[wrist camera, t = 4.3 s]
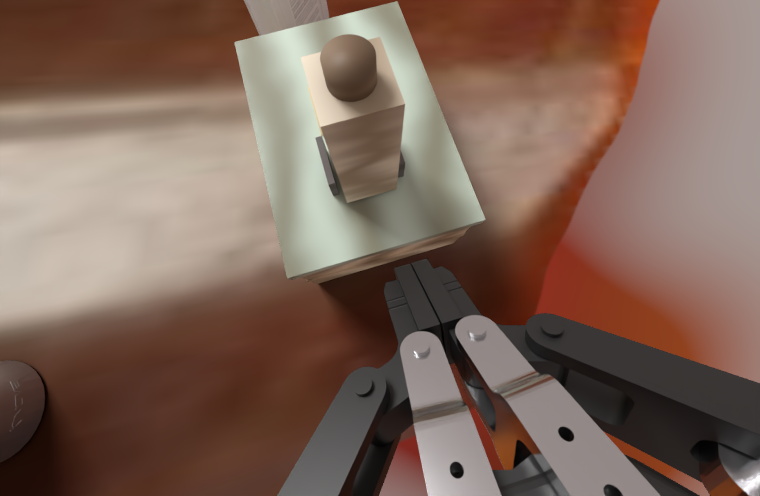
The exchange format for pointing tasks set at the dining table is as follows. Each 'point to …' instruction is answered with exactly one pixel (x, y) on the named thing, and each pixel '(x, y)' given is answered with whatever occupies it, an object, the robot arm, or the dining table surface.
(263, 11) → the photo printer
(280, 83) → the rectangular block
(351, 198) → the wooden knobbed block
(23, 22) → the dining table surface
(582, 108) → the dining table surface
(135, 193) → the dining table surface
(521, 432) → the robot arm
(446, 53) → the dining table surface
